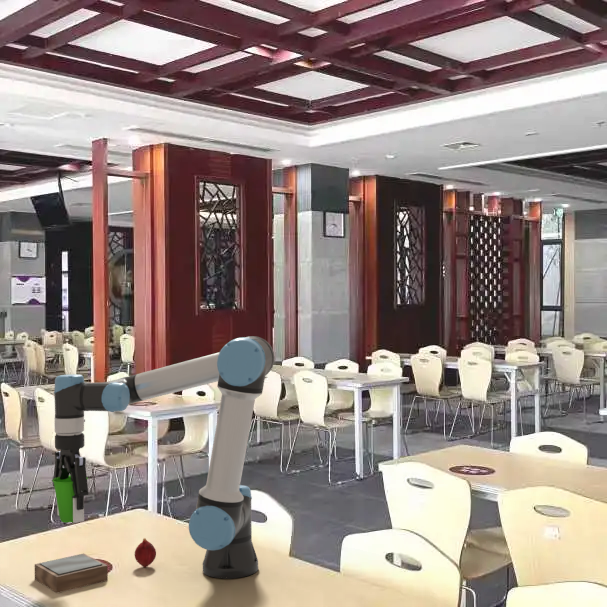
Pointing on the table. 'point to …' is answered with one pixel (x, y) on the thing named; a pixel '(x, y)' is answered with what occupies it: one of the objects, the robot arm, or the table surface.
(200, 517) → the robot arm
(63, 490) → the cup
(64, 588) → the flat stove
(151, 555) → the onion
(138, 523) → the table surface
